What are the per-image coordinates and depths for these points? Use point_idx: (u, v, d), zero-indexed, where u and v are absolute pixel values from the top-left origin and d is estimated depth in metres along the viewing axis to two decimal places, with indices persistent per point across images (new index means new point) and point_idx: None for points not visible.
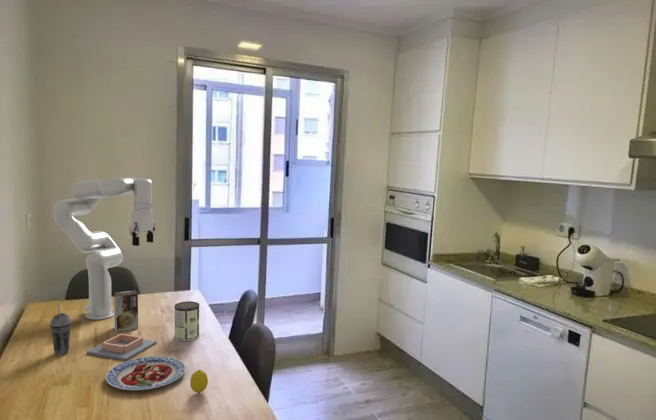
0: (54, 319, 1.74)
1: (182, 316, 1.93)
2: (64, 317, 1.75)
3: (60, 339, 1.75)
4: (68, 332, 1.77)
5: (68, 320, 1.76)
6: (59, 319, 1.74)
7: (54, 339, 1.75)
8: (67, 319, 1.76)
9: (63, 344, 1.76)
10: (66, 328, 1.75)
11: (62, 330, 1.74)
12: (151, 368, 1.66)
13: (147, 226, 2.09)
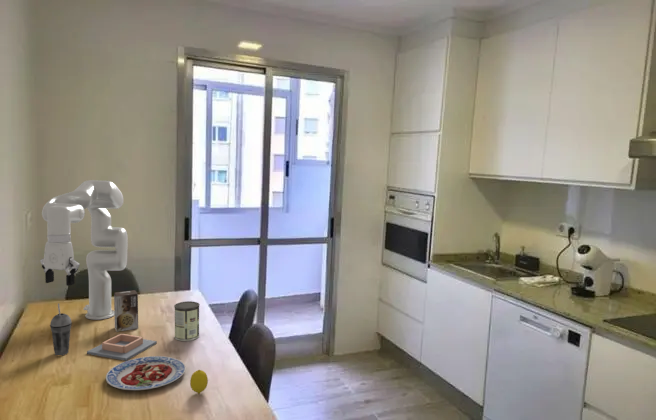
0: (54, 319, 1.74)
1: (182, 316, 1.93)
2: (64, 317, 1.75)
3: (60, 339, 1.75)
4: (68, 332, 1.77)
5: (68, 320, 1.76)
6: (59, 319, 1.74)
7: (54, 339, 1.75)
8: (67, 319, 1.76)
9: (63, 344, 1.76)
10: (66, 328, 1.75)
11: (62, 330, 1.74)
12: (151, 368, 1.66)
13: None
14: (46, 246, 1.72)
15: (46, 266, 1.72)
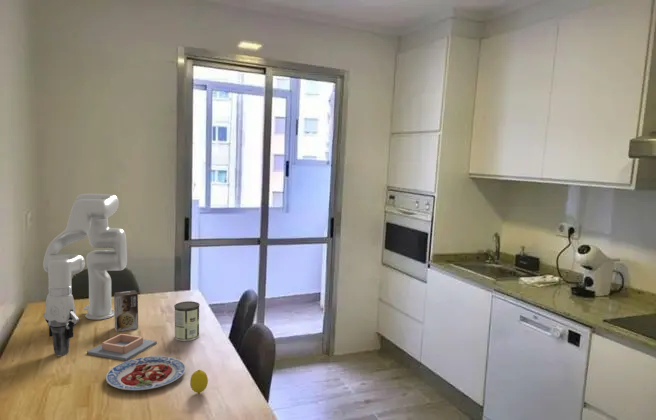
0: None
1: (182, 316, 1.93)
2: None
3: (60, 339, 1.75)
4: None
5: None
6: None
7: (54, 339, 1.75)
8: None
9: (63, 344, 1.76)
10: None
11: (62, 330, 1.74)
12: (151, 368, 1.66)
13: None
14: (47, 299, 1.74)
15: (47, 318, 1.75)
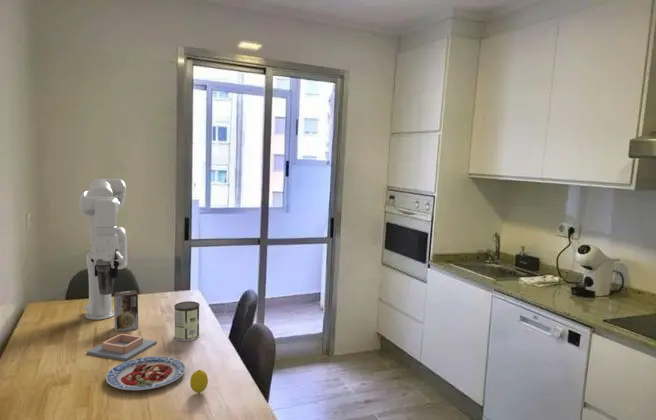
0: None
1: (182, 316, 1.93)
2: None
3: (105, 278, 1.77)
4: None
5: None
6: None
7: (99, 278, 1.77)
8: None
9: (108, 283, 1.78)
10: (111, 267, 1.78)
11: (107, 269, 1.76)
12: (151, 368, 1.66)
13: None
14: (93, 238, 1.77)
15: (93, 257, 1.77)
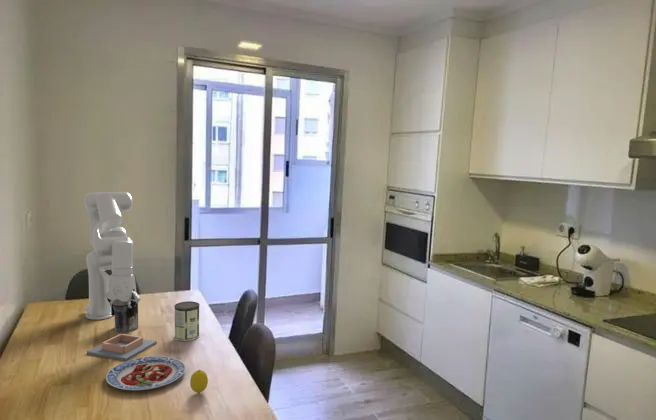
0: None
1: (182, 316, 1.93)
2: None
3: (122, 318, 1.80)
4: None
5: None
6: None
7: (116, 318, 1.80)
8: None
9: (125, 323, 1.81)
10: (128, 307, 1.81)
11: (124, 309, 1.80)
12: (151, 368, 1.66)
13: None
14: (110, 279, 1.80)
15: (110, 298, 1.81)
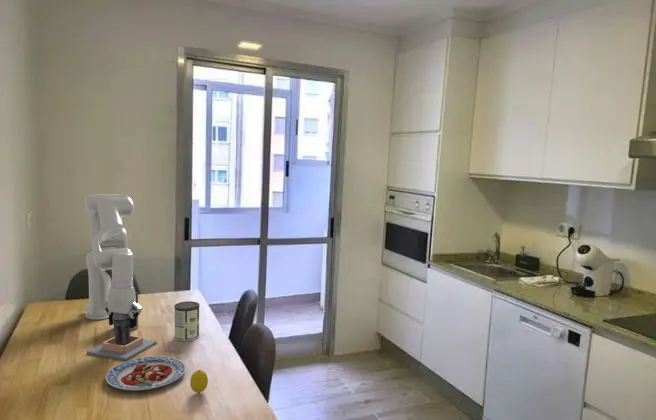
0: (116, 313, 1.81)
1: (182, 316, 1.93)
2: None
3: (122, 332, 1.81)
4: (129, 325, 1.83)
5: None
6: None
7: (116, 332, 1.81)
8: None
9: (125, 337, 1.82)
10: (127, 321, 1.82)
11: (123, 323, 1.81)
12: (151, 368, 1.66)
13: None
14: (110, 291, 1.81)
15: (110, 310, 1.81)
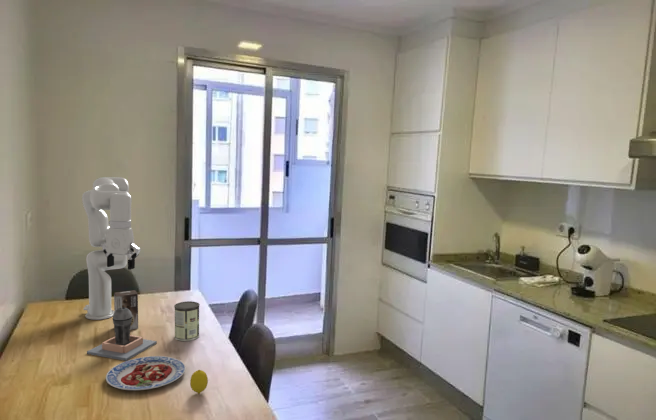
0: (116, 313, 1.81)
1: (182, 316, 1.93)
2: (126, 311, 1.82)
3: (122, 332, 1.81)
4: (129, 325, 1.83)
5: (129, 314, 1.83)
6: (121, 313, 1.81)
7: (116, 332, 1.81)
8: (128, 313, 1.82)
9: (125, 337, 1.82)
10: (128, 321, 1.82)
11: (124, 323, 1.81)
12: (151, 368, 1.66)
13: None
14: (108, 232, 1.80)
15: (108, 251, 1.80)
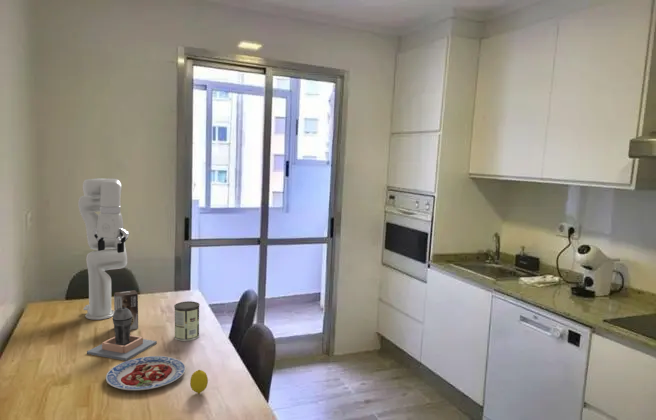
0: (116, 313, 1.81)
1: (182, 316, 1.93)
2: (126, 311, 1.82)
3: (122, 332, 1.81)
4: (129, 325, 1.83)
5: (129, 314, 1.83)
6: (121, 313, 1.81)
7: (116, 332, 1.81)
8: (128, 313, 1.82)
9: (125, 337, 1.82)
10: (128, 321, 1.82)
11: (124, 323, 1.81)
12: (151, 368, 1.66)
13: None
14: (99, 217, 1.91)
15: (99, 235, 1.92)
